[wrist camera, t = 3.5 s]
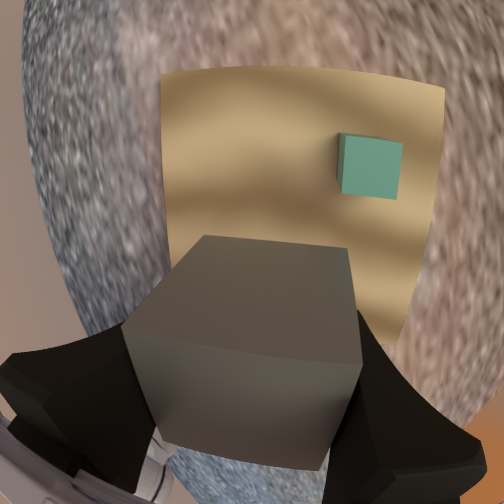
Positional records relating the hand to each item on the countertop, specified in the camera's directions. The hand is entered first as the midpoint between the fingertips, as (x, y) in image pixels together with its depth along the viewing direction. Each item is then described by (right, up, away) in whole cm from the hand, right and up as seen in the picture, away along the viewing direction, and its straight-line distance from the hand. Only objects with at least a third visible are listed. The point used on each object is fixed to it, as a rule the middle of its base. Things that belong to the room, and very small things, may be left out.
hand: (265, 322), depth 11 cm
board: (+2, +5, +8) cm, 10 cm away
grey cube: (0, +1, +1) cm, 1 cm away
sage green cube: (+6, +8, +5) cm, 11 cm away
